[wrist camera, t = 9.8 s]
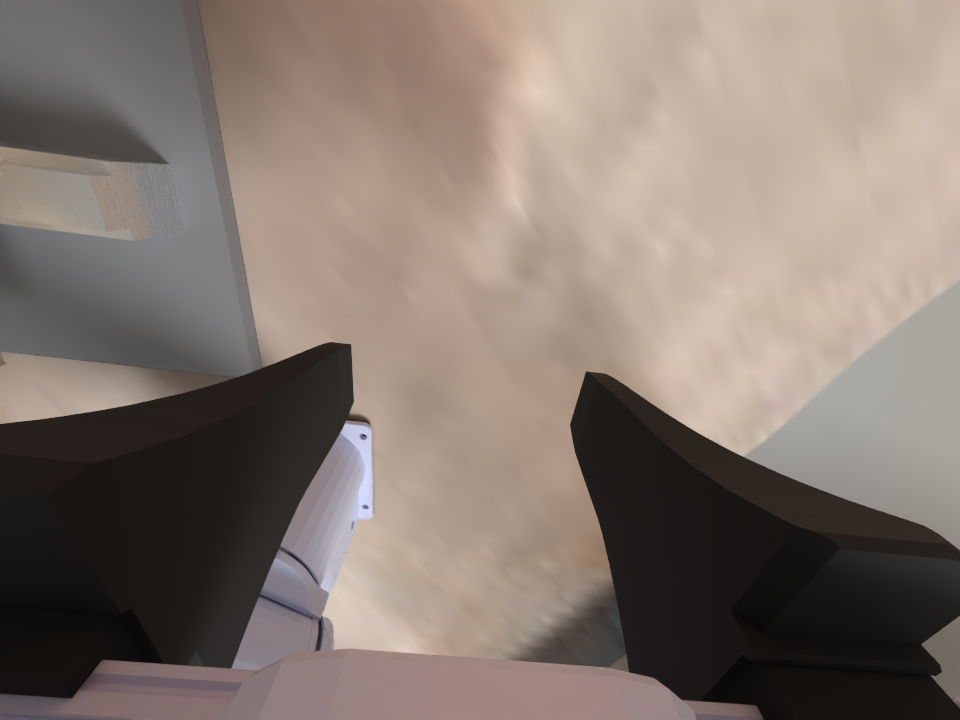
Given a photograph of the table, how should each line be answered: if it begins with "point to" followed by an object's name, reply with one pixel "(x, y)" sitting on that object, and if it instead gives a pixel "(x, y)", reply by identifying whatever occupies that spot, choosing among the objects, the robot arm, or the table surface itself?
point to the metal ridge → (87, 193)
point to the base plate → (133, 135)
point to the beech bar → (2, 360)
